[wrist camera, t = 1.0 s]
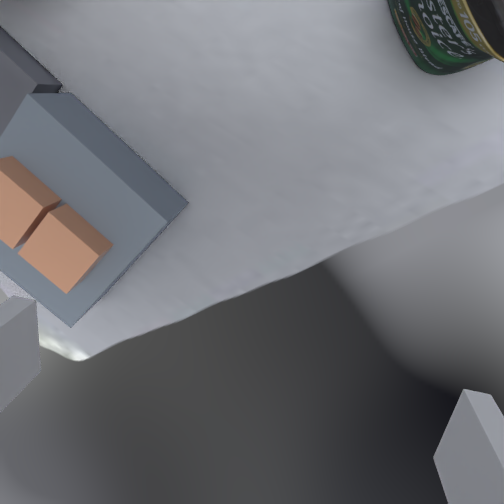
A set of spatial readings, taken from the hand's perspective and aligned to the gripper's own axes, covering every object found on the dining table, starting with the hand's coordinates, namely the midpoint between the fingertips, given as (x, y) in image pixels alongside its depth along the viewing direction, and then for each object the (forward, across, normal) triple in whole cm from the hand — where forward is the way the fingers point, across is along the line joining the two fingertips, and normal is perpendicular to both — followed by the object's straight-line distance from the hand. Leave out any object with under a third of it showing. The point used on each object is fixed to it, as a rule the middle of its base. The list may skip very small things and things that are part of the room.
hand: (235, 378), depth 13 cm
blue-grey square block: (+26, -19, -5) cm, 33 cm away
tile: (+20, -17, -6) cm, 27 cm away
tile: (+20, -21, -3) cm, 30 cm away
